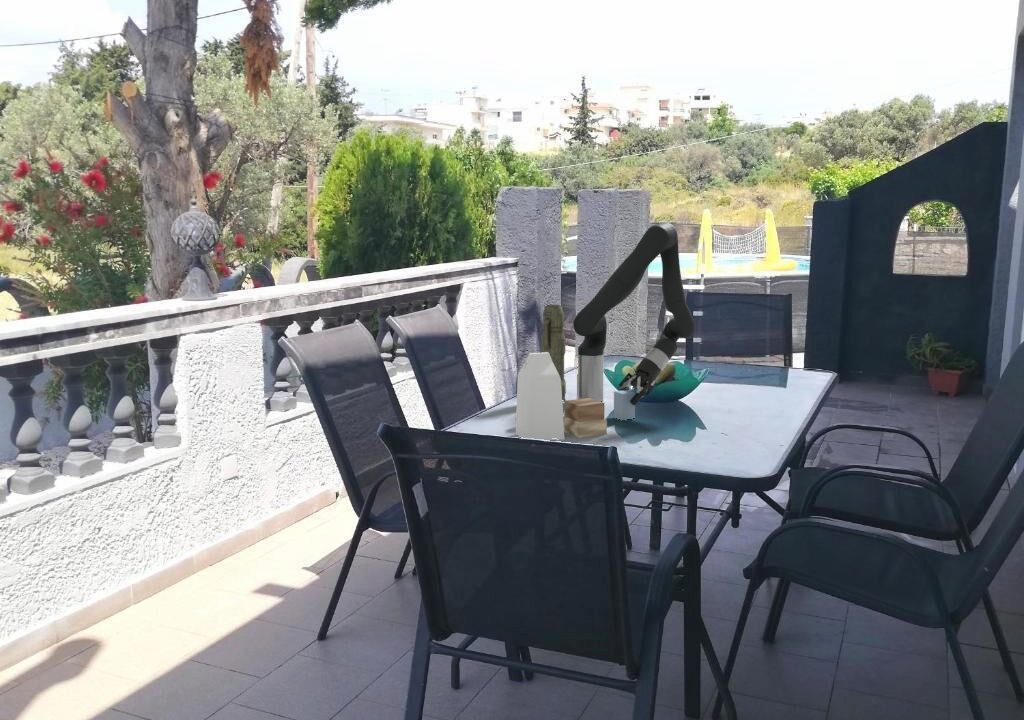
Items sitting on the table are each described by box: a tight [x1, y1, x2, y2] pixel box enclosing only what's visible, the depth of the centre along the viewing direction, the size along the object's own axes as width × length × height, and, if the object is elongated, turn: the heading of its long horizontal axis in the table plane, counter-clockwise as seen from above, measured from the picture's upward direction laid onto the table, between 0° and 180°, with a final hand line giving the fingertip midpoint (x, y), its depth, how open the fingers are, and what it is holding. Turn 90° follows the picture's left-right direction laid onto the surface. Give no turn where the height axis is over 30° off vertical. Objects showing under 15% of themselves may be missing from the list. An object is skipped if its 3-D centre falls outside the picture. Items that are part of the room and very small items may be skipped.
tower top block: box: [563, 398, 605, 422], centre depth 281 cm, size 9×9×5 cm
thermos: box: [540, 304, 567, 401], centre depth 329 cm, size 9×12×35 cm
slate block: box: [613, 390, 636, 421], centre depth 300 cm, size 5×5×9 cm
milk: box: [515, 352, 565, 441], centre depth 275 cm, size 12×12×26 cm
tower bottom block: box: [563, 415, 608, 439], centre depth 281 cm, size 10×10×5 cm
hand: (624, 401), depth 300 cm, fingers open, 8 cm apart
